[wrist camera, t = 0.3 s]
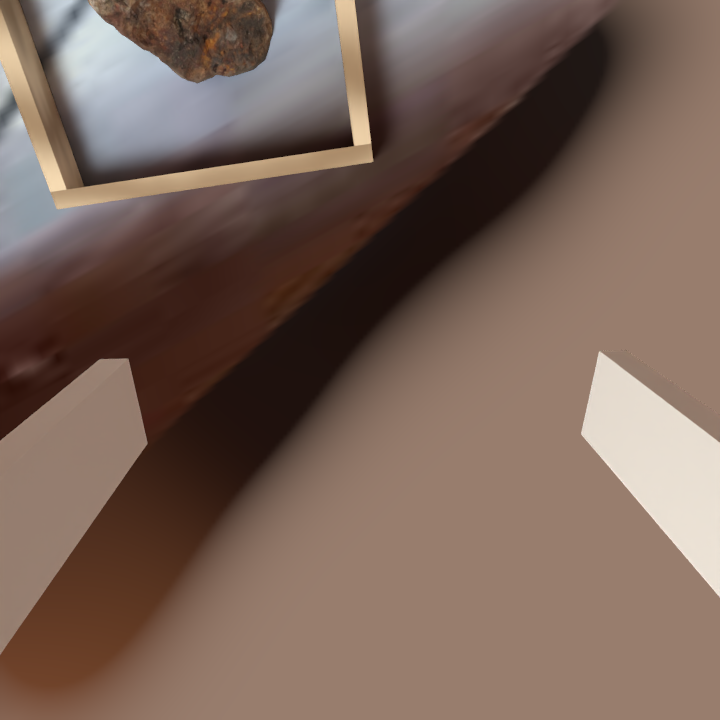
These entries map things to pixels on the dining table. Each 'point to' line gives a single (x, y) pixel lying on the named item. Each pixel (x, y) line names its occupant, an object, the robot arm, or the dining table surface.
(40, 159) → the pine frame
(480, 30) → the dining table surface
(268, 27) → the rock
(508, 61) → the dining table surface
